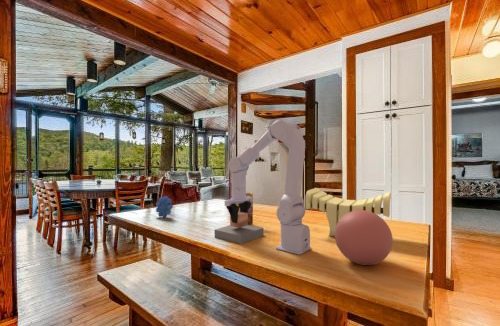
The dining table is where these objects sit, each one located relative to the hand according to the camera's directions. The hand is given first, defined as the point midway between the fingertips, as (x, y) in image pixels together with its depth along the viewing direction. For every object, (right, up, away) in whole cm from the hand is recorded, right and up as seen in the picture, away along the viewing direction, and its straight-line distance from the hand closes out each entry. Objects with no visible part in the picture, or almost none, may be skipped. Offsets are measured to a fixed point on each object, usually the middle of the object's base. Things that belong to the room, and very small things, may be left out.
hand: (239, 221), depth 102 cm
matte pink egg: (+38, -6, -26) cm, 47 cm away
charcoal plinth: (0, -6, 0) cm, 6 cm away
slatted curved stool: (+44, -6, 0) cm, 44 cm away
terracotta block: (0, -2, 0) cm, 2 cm away
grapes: (-42, -7, +37) cm, 56 cm away
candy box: (+1, -6, +17) cm, 18 cm away
